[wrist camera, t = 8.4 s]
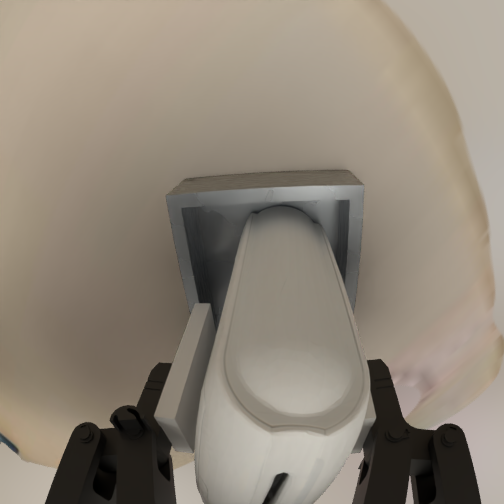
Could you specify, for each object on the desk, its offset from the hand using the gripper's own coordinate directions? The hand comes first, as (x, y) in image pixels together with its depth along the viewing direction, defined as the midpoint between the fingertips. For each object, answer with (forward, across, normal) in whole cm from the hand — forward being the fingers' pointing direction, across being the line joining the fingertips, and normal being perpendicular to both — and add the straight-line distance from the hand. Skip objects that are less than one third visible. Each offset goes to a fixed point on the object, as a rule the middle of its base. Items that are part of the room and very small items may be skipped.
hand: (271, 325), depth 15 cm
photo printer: (+3, 0, 0) cm, 3 cm away
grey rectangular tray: (+3, 0, 0) cm, 3 cm away
